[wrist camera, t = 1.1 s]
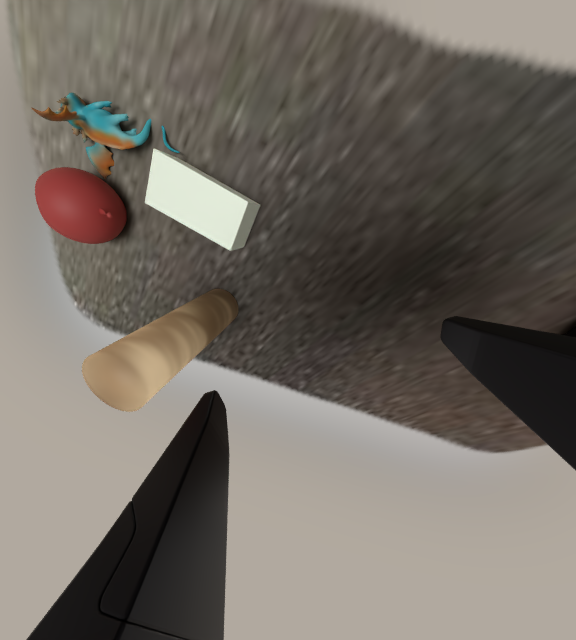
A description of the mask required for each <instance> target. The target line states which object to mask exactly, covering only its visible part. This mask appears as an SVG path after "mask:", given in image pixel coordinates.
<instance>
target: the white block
mask: <svg viewBox="0 0 576 640" xmlns="http://www.w3.org/2000/svg"><path fill="white" fill-rule="evenodd" d="M145 203H146V204H148V205H150V206H152V207H153V208H155V209H157V210H159V211H161V212H162V213H164V214H166V215H168V216H169V217H171V218H173V219H175V220H177V221H178V222H180V223H182V224H184V225H185V226H187V227H189V228H191V229H193V230H194V231H196V232H198V233H200V234H202V235H203V236H205V237H207V238H209V239H210V240H212V241H214V242H216V243H218V244H219V245H221V246H223V247H225V248H226V249H228V250H230V251H232V250H235V249H239V248H243V247H244V246H245V243H246V241H247V238H248V236H249V233H250V231H251V228H252V225H253V223H254V220H255V218H256V215H257V213H258V210H259V207H260V204H258V203H256V202H255V201H253V200H251V199H249V198H248V197H246V196H244V195H242V194H241V193H239V192H237V191H235V190H234V189H232V188H230V187H228V186H227V185H225V184H223V183H221V182H220V181H218V180H216V179H214V178H212V177H211V176H209V175H207V174H205V173H204V172H202V171H200V170H198V169H197V168H195V167H193V166H191V165H190V164H188V163H186V162H184V161H183V160H181V159H179V158H177V157H174V156H172V155H169V154H167V153H164V152H162V151H159V150H157V149H154V150H153V156H152V162H151V168H150V175H149V181H148V187H147V193H146V199H145Z"/></svg>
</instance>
